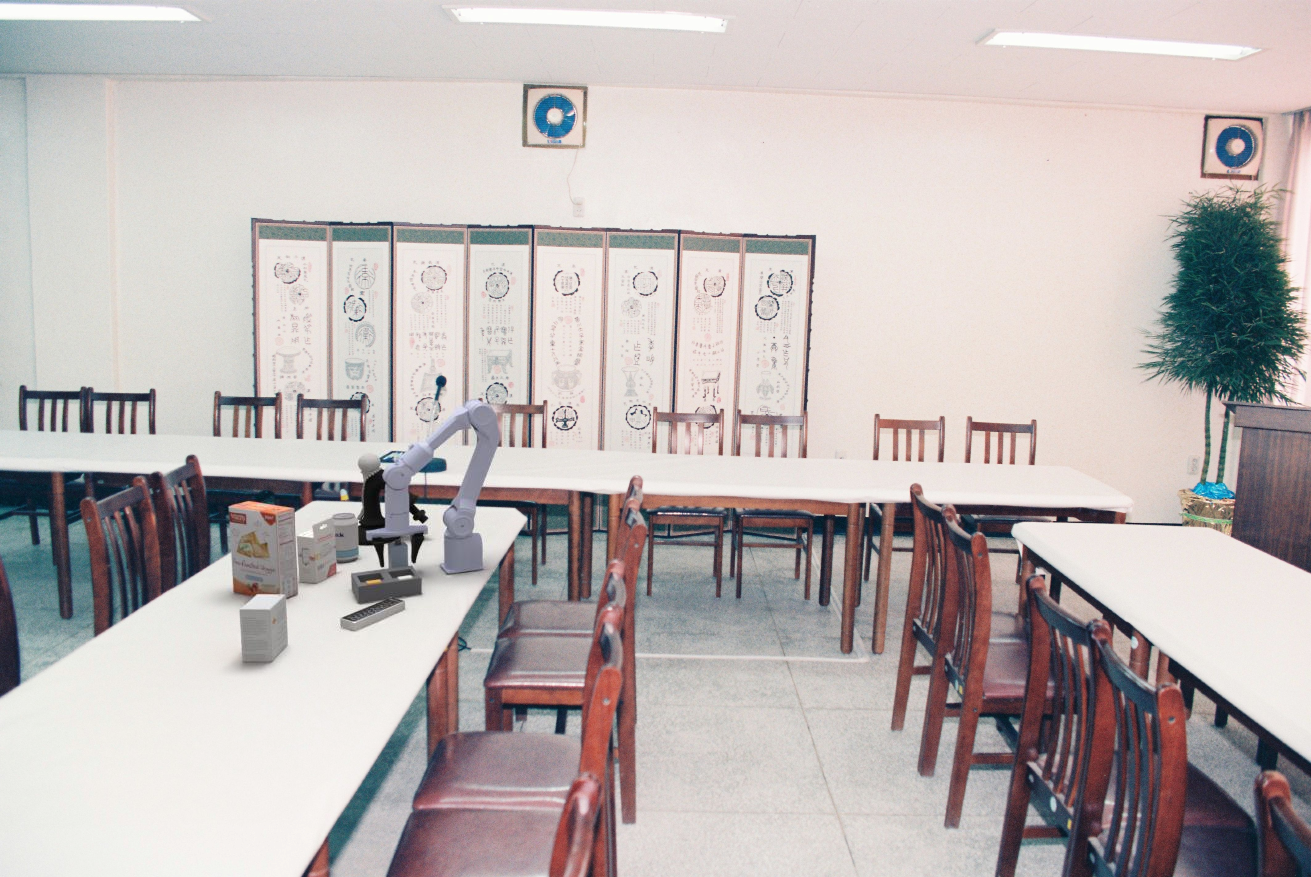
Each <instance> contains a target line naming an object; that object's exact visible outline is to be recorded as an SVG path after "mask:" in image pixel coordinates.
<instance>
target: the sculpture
mask: <svg viewBox="0 0 1311 877" xmlns="http://www.w3.org/2000/svg"><path fill="white" fill-rule="evenodd" d="M357 461H358V462H357V466H358V469H360V472H359V473H360V474H362V479H363V484H362V488H361V489H362V490H361V506H362V508H361V510H360V513H359V514H358V516H357V517H356V519H357V520H358V543H359V546H366V547H367V546H374V545H373V543H372V541H371V540H367V539H366V531H371V530H376V529H381V528H385V516H383V513H382V509H381V500H380V498H381V497H380V496H381V491H382V490H383V491H384V492H385V484H387V483H386V482H385V481H384V479H383V476H382V474H383V472H384V470H385V469H383V467H381V459H380V457H379V456H378V455H377V454H375V453H372V452H371V453H369V452H368V453H364V454H363V455H361V456H360V457H359V458H358V460H357ZM408 493H409V514H411V515H412V520H413V521H414V522H417V521H419V522H420V524H421V525H424V524H425V523H426V522H427V521H428V520H429V517H428V516H427V515H426V510H425V509H419V508H418V506H416V505H415V504H416V501H417V500H418V499H419V495H418V494H415V493H412V492H411V491H409V490H408ZM401 538H402V536H398V537H389V538H382V539H383V542H384V545H386V544H387V545H388V543H393V542H394V540H401Z"/></svg>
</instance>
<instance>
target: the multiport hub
mask: <svg viewBox="0 0 1311 877" xmlns="http://www.w3.org/2000/svg"><path fill="white" fill-rule="evenodd" d="M405 610H406V600H403V599H400V598H392V597H391V598H388V599H386V600H380V601H377V602H376V603H374V604H372V605H369V606H367V607H364V608H362V609H359V610H356V611H354V612H351V613H349V614H346V615H345V616H342V617H340V618H339V619H340V620H339V621H340V623H339V625H340V626H341V627H340V628H342V627H343V629H345V628H346V629H347V630H349V631H352V630H353V631H352V632H356V631H358V630H360V629H363V628H365V626H366V627H367V626H368V627H369V626H371V625H372V624H374V623H377V622H379V621H381V620H384V619H386V618H388V617H391V616H393V615H395V614H398V613H400V612H403V611H405ZM355 630H356V631H355Z"/></svg>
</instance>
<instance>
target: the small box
mask: <svg viewBox="0 0 1311 877" xmlns="http://www.w3.org/2000/svg"><path fill="white" fill-rule="evenodd" d="M287 610H288V609H287V599H286V595H281V594H257V595H256V596H253V597H252V598H250V600H249V601H248V602H246V603H245V604H244V605H243V606H242V607H241V608H239V622H240V623H239V625H240V639H241V641H240V643H241V655H242V656H241V658H242V663H256V662H258V663H259V662H260V663H262V662H263V663H270V662H271V663H272V662H273V661H274V660H275V659H276V658H277V656H279V654H280V653H281V652H282V651H283V650H284V649H285V648H286V647H287V646H288V645H289V640H288V639H289V637H288V635H289V634H288V615H287V613H288V612H287Z"/></svg>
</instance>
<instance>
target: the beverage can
mask: <svg viewBox="0 0 1311 877" xmlns="http://www.w3.org/2000/svg"><path fill="white" fill-rule="evenodd" d="M331 517H333V520H334V528H335V542H336V561H337V562H336V563H348V562H349V563H350V562H352V561H354V560H355V559H356V558H357V557H359V555H360V552H359V550H360V548H359V546H360V545H359V543H358V526H359V520H358V519H357V517H356V514H355V513H352V512H341V513H340V512H339V513H336V514H333V515H332V516H331Z"/></svg>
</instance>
